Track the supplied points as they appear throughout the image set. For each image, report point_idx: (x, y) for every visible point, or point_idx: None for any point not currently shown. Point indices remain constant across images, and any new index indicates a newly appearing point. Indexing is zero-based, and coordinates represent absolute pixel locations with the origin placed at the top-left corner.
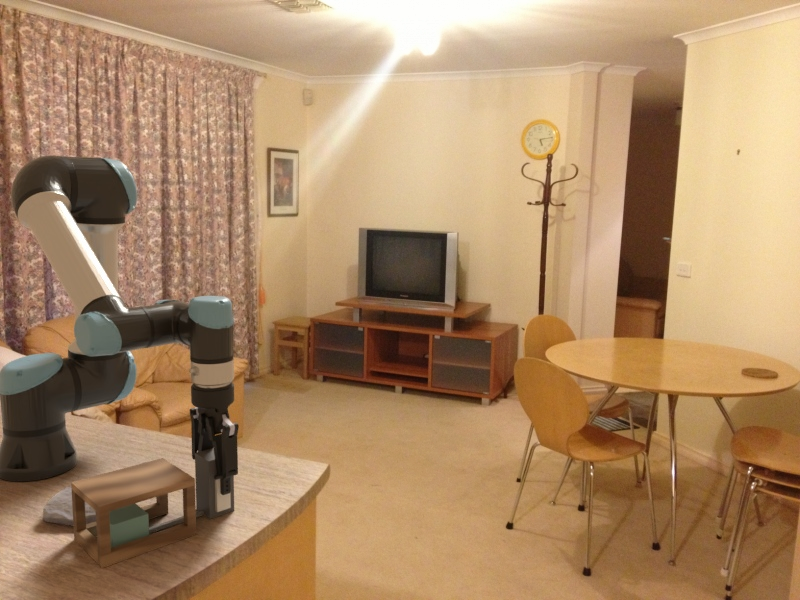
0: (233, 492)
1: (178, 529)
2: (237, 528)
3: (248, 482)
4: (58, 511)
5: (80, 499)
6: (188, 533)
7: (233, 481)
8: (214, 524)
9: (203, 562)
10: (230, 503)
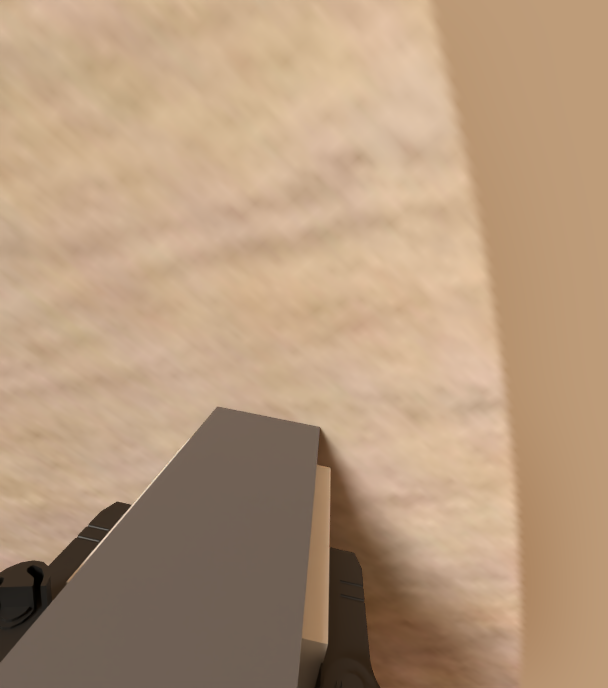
0: (314, 480)
1: None
2: (435, 508)
3: (143, 200)
4: None
5: None
6: None
7: (310, 528)
8: (345, 527)
9: (497, 675)
10: (329, 480)
